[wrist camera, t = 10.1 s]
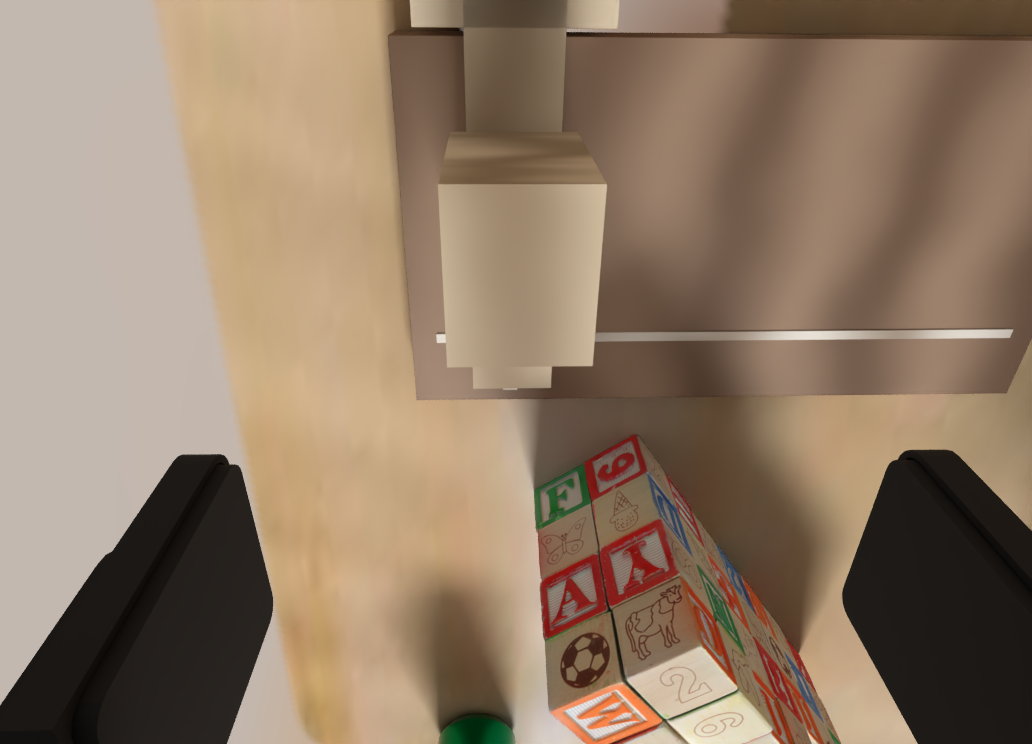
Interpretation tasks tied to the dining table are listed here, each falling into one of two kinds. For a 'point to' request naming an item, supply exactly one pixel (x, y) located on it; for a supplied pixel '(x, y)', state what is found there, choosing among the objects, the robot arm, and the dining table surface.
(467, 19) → the beige block
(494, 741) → the soda can
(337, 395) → the dining table surface
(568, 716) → the stack of blocks
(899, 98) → the board
